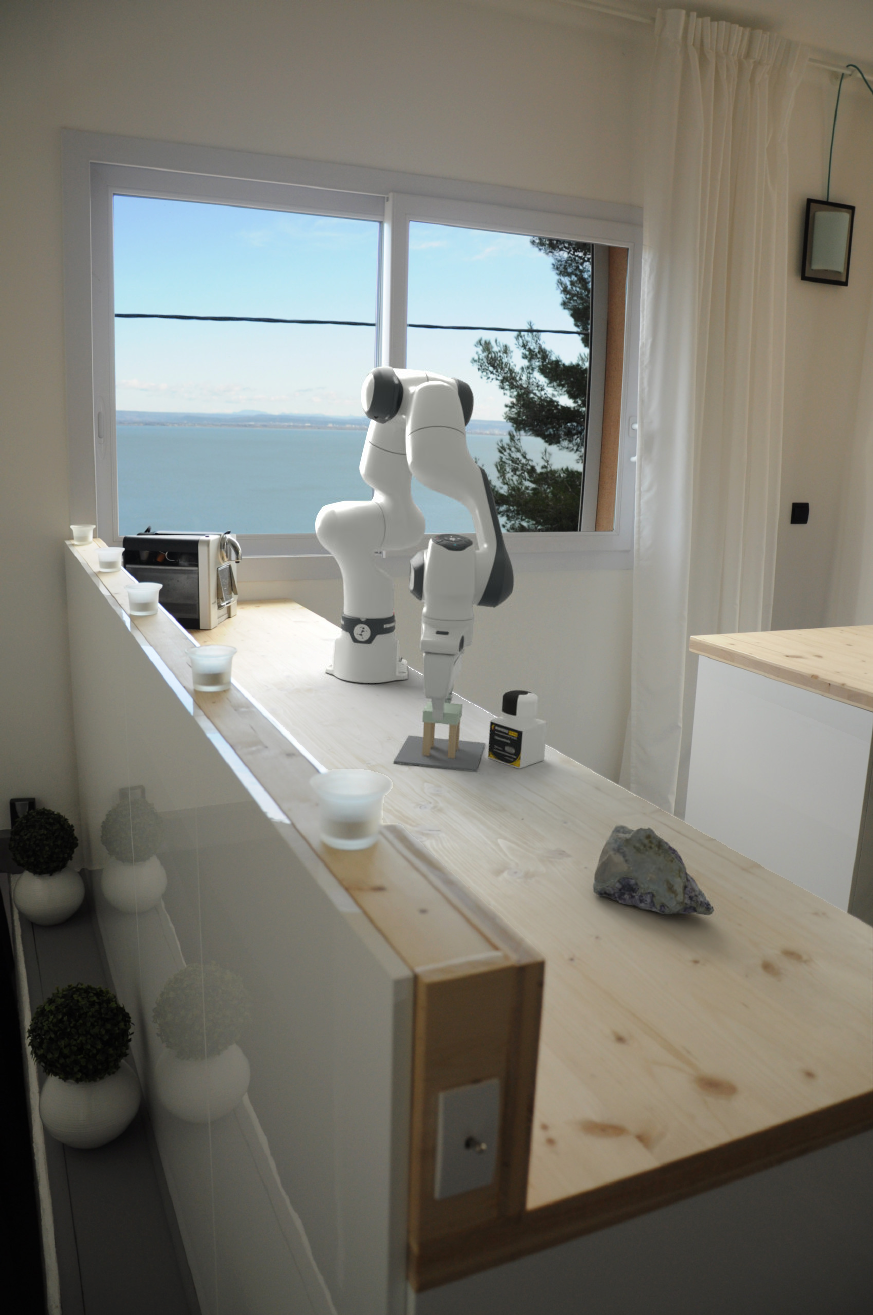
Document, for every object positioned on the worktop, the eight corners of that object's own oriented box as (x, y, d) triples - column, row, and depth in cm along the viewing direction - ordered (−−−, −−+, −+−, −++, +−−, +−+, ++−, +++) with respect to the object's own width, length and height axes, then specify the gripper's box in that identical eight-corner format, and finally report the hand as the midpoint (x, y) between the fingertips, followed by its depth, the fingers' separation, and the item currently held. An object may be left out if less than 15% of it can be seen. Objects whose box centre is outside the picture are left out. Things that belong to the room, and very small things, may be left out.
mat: (408, 737, 173) (408, 735, 173) (485, 745, 171) (485, 742, 171) (393, 763, 159) (393, 760, 159) (476, 771, 157) (476, 769, 157)
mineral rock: (716, 929, 111) (727, 849, 108) (637, 941, 107) (646, 860, 105) (655, 879, 123) (663, 806, 120) (582, 889, 119) (589, 814, 116)
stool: (426, 744, 168) (428, 701, 166) (459, 747, 167) (462, 704, 166) (420, 755, 162) (423, 710, 161) (455, 758, 162) (458, 713, 160)
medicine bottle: (486, 758, 164) (491, 691, 161) (512, 749, 169) (517, 685, 166) (519, 769, 159) (524, 701, 156) (544, 760, 164) (550, 694, 162)
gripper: (437, 618, 170) (433, 692, 174) (418, 643, 151) (414, 726, 154) (472, 621, 169) (467, 695, 173) (457, 647, 150) (452, 730, 153)
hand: (442, 710), depth 163 cm, fingers open, 8 cm apart
